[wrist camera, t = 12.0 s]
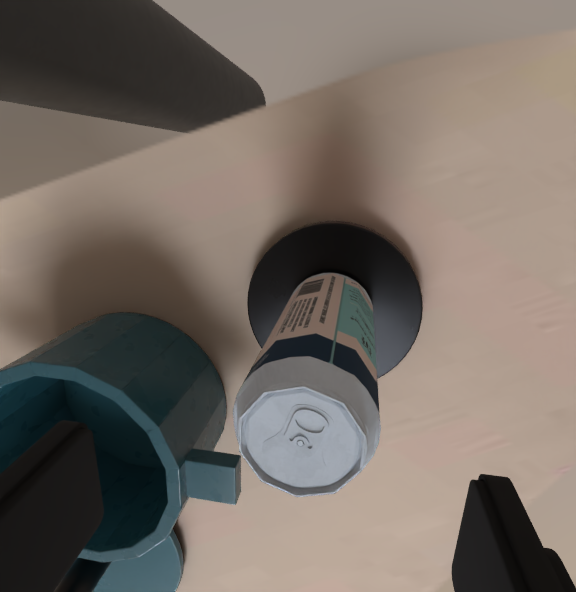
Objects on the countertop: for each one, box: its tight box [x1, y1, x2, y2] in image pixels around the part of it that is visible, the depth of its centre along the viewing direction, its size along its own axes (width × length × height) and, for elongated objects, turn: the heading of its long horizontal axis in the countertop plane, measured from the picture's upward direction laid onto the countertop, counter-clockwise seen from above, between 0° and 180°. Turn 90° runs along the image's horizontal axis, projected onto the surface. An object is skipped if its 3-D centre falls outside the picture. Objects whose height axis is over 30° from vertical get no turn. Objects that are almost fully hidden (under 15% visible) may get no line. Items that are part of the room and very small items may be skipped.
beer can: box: [233, 273, 381, 497], centre depth 18 cm, size 5×5×12 cm
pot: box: [0, 312, 241, 562], centre depth 26 cm, size 13×18×8 cm
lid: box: [54, 529, 184, 592], centre depth 31 cm, size 14×14×7 cm
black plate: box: [248, 221, 423, 378], centre depth 24 cm, size 10×10×1 cm
